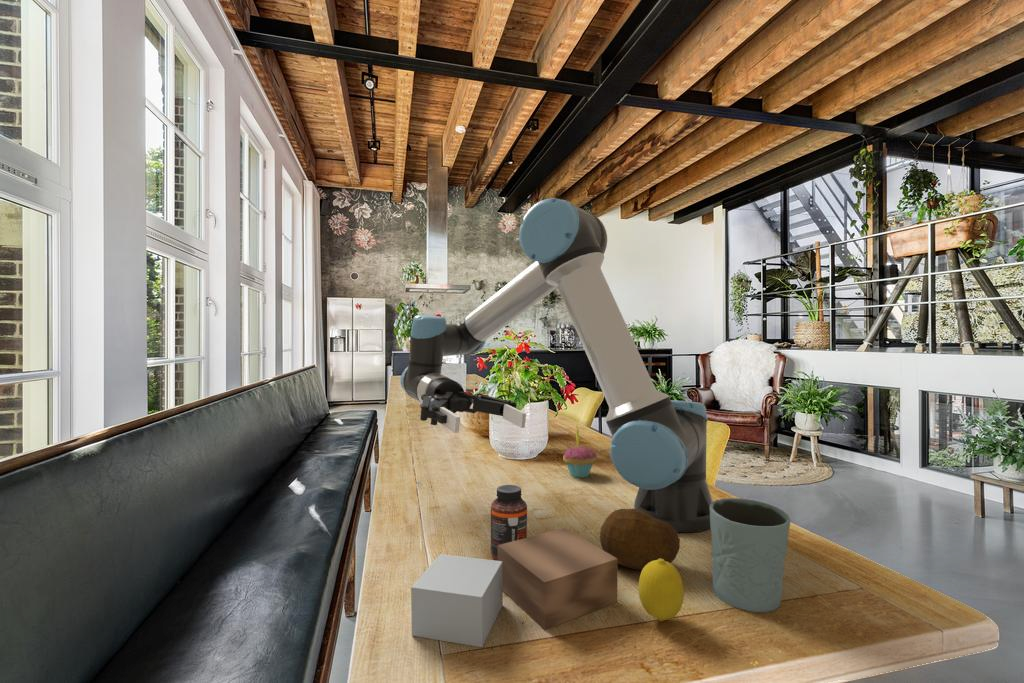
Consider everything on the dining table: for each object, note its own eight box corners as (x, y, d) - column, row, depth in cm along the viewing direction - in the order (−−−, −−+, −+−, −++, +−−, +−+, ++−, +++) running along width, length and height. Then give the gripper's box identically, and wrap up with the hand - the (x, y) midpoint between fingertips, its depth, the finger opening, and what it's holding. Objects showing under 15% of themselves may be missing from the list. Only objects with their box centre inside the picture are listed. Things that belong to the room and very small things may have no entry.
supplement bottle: (523, 567, 77) (523, 495, 77) (486, 563, 78) (486, 493, 78) (530, 550, 83) (529, 483, 83) (495, 547, 84) (495, 481, 84)
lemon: (674, 607, 66) (674, 548, 66) (690, 633, 60) (691, 569, 60) (633, 608, 66) (633, 549, 65) (645, 635, 60) (646, 570, 60)
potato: (671, 588, 71) (671, 528, 70) (591, 569, 76) (591, 513, 76) (680, 563, 78) (681, 508, 78) (607, 547, 84) (607, 496, 84)
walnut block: (564, 565, 78) (564, 527, 77) (617, 602, 67) (617, 558, 67) (497, 586, 71) (497, 545, 71) (544, 630, 61) (544, 582, 61)
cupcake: (557, 471, 127) (557, 425, 127) (587, 468, 130) (587, 423, 129) (571, 481, 119) (571, 432, 119) (603, 478, 122) (603, 429, 121)
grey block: (502, 605, 67) (502, 561, 66) (482, 647, 58) (481, 597, 58) (440, 596, 69) (440, 553, 69) (411, 635, 60) (411, 587, 60)
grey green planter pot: (728, 570, 76) (729, 493, 75) (800, 597, 68) (802, 511, 68) (695, 594, 69) (695, 509, 69) (771, 627, 62) (772, 532, 61)
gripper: (489, 409, 112) (545, 438, 94) (382, 414, 98) (424, 449, 80) (493, 376, 111) (550, 399, 93) (385, 377, 97) (428, 404, 80)
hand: (492, 422), depth 87 cm, fingers open, 13 cm apart
